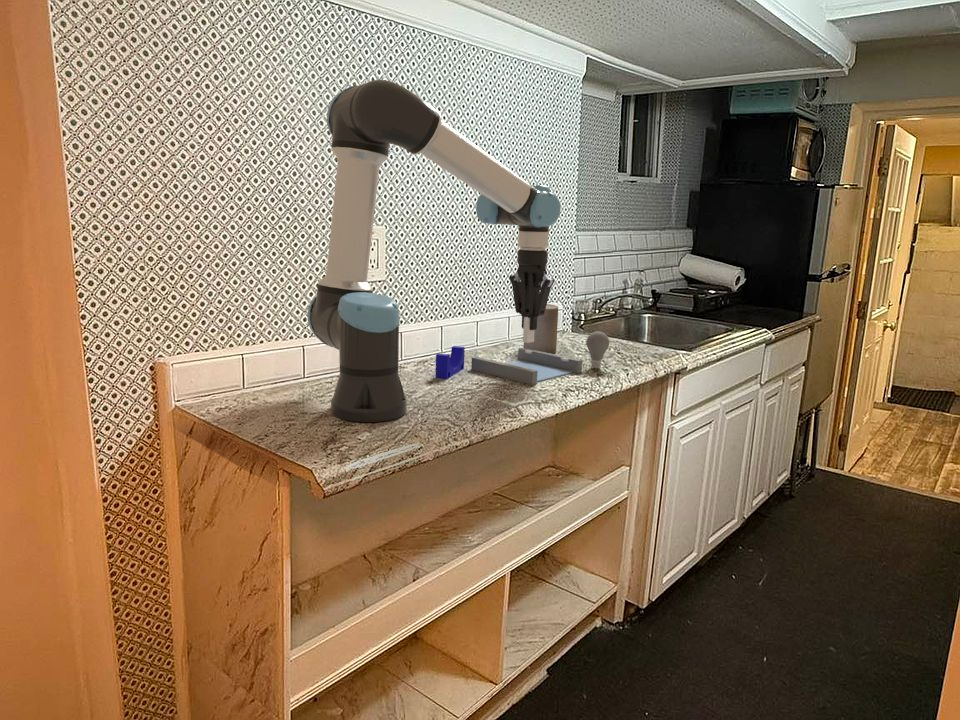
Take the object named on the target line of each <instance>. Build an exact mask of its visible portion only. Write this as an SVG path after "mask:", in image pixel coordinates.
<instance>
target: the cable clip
mask: <svg viewBox="0 0 960 720" xmlns="http://www.w3.org/2000/svg"><path fill="white" fill-rule="evenodd" d="M465 347H466V346H458V345H453V346H451V349H450V350H451V352H450V354H446V353H436V354H435V378H436V379H440V380H449V379H450V378H452V377H453V376H455V375H456V374H458V373H460V372H461V371H462V370H464V369H465Z"/></svg>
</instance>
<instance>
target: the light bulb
mask: <svg viewBox="0 0 960 720" xmlns="http://www.w3.org/2000/svg"><path fill="white" fill-rule="evenodd" d="M585 343H586V347H587V350H588V351H589V355H590V360H591V362H590V363H591V365H590V367H591V368H592V369H596V370H597V369H600V368H601V367H602V360H603V358H604V355H605V353H606V352H607V350H608V348H609V346H610V339H609V337H608V335H607V334H606V333H605V332H603V331H598V330H597V331H594V332H593V331H592V332H591V333H590V334H589V335H588V336H587V338H586V342H585Z"/></svg>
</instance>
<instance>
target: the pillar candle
mask: <svg viewBox="0 0 960 720" xmlns="http://www.w3.org/2000/svg"><path fill="white" fill-rule="evenodd" d="M558 322H559V306H558V305H555V304H548V303H547V305H546V309H545V313H544V315H541V316H538V318H537V329H536V330H535V332H534V342H530V343H525V342H523V344H522V345H523V347H522V348H527V349H531V350H536V351H541V352H546V353H551V354H555V353H557V342H558V340H557V339H558Z"/></svg>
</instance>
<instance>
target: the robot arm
mask: <svg viewBox="0 0 960 720" xmlns="http://www.w3.org/2000/svg"><path fill="white" fill-rule="evenodd" d="M326 125H327V127H328V128H327V129H328V130H329V133H330V134H331V136H332V138H331V147H330V149H331V152H332V153H333V154H334V156H335V157H336V159H337V163H336V164H337V166H336V176H335V184H334V193H333V194H334V195H333V205H332V212H331V213H332V215H331V224H330V233H329V244H328V255H327V263H326V274H325V276H323V278H321V279H320V280H318V282H317V288H316V296H315V297H314V298H313V299H312V300H311V302H310V304H309V305H308V309H307V325H308V326H309V329H310V331H311V332H312V334H313V335H314V337H316V338H317V339H318V340H319V341H320V342H321V343H323V344H325V346H328V347H331V348H334V349H335V350H338V351H339V354H338V355H339V357H338V358H339V376H338V379H337V381H336V382H337V383H336V386H335V389H334V392H333V396H332V398H331V401H330V413H331V415H332V416H334V417H336V418H338V419H340V420H345V421H348V422H349V421H350V422H359V423H378V422H384V421H385V422H386V421H390V420H395V419H398V418H401V417H402V416H404V415H406V414H407V412H408V411H407V410H408V408H407V407H408V402H407V398H406V395H405V392H404V388H403V385H402V382H401V378H400V375H399V353H400V351H399V349H400V346H399V345H400V344H399V343H400V338H399V337H400V321H401V320H400V319H401V317H400V312H399V310H400V309H399V305H398V302H397V301H396V300H395V299H394V298H392V297H390V296H388V295H385V294H377V293H374V288H373V286H372V285H370V283H369V281H368V274H369V264H370V256H371V249H372V248H371V247H372V246H371V245H372V239H373V229H374V219H375V213H376V212H375V211H376V203H377V202H376V201H377V191H378V184H379V173H380V167H381V166H382V164H383V163H385V162H386V161H387V160H388V159H389V152H390V144H391V145H393V146H398V147H400V148H402V149H404V150H406V151H407V152H409V153H410V154H412V155H419V154H421V155H423V156H424V157H426V158H427V159H428V160H430V161H431V162H433V163H435V164H436V165H437V166H439V167H440V168H442V169H444V170H445V171H447V172H448V173H450V174H451V175H453V176H454V177H455V178H457V179H459V180H460V181H461V182H463V183H465V184H466V185H467V186H469V187H470V188H472V189H473V190H474V191H477V193H479V194H480V195H478V198H477V199H476V203H475V213H476V217H477V219H478V220H479V221H480V222H481V223H482V224H486V225H493V226H494V225H507V226H518V235H517V236H518V237H517V238H518V239H517V247H519V249H518V250H517V257H516V260H517V261H516V262H517V264H518V267H517V269H516V272H515V273H514V274H510V275H509V276H508V279H509V281H510V283H511V286H512V293H513V302H514V308H515V313H517V314H519V315H521V328H522V329H523V333H522V336H523V337H522V343H524V342H525V343H530V342H534V332H535V330H536V329H537V318H538V316H541V315H544V313H545V309H546V305H547V304H548V300H549V297H550V293H551V288H552V287H553V285H554V283H555V281H556V280H555V279H554V278H550V277H549V276H548V272H547V268H546V266H547V265H548V256H549V253H548V252H549V251H548V250H547V248H549V231H550V226H552V225H554V224H555V223H557V221H558V219H559V217H560V214H561V209H562V208H561V201H560V200H559V197H558V196H557V195H556V194H555V193H553V192H552V191H551V187H549V186H548V185H546V184H545V185H543V184H530V183H528V182H527V181H526V180H524V178H521V177H520V176H518V175H517V174H516V173H514V172H513V171H512V170H510V169H509V168H508V167H506V166H505V165H504V164H502V163H501V162H499V160H497V159H495V157H493V156H491V155H490V154H489V153H487V152H486V151H485V150H483V149H481V147H479V146H478V145H476V144H475V143H474V142H472V141H471V140H469V139H468V138H467V137H466V136H464V135H463V134H461V133H460V132H458V131H457V130H456V129H454V128H453V127H451V126H450V125H449V124H448V123H446V122H445V121H444V120H442V114H441V112H440V111H439V110H438V109H436V108H435V107H434V106H432V105H431V104H430V103H428V102H427V101H425V100H424V99H423V98H421V97H419V96H418V95H417V94H416V93H414V92H412V91H411V90H409V89H408V88H406V87H404V86H402V85H400V84H399V83H396V82H393V81H391V80H387V79H374V80H370V81H367V82H365V83H362V84H359V85H352V86H348V87H347V88H345V89H343V90H341V91H340V92H339V93H337V94H336V95H335V96H334V97H333V99H332V100H331V101H330V103H329V105H328V108H327V112H326Z"/></svg>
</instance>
